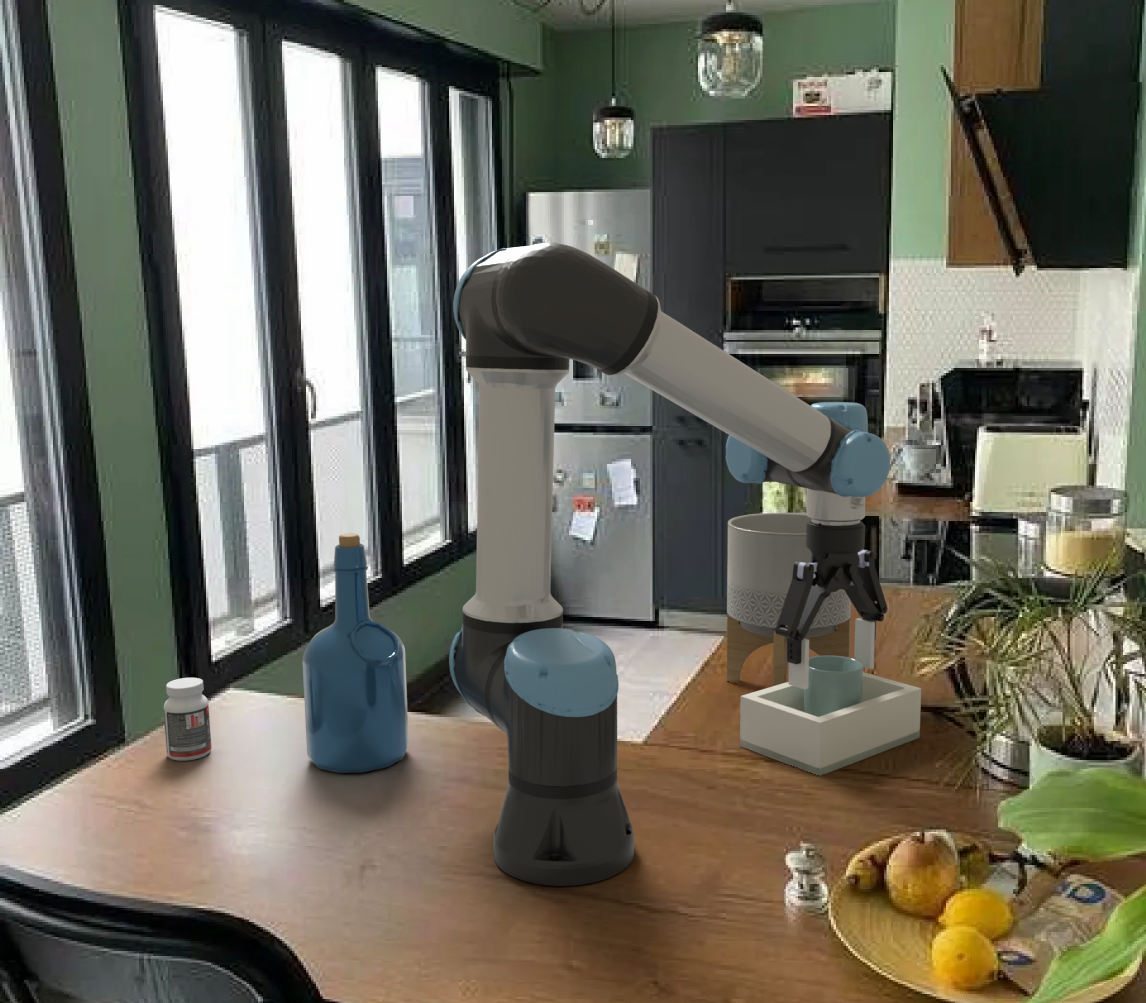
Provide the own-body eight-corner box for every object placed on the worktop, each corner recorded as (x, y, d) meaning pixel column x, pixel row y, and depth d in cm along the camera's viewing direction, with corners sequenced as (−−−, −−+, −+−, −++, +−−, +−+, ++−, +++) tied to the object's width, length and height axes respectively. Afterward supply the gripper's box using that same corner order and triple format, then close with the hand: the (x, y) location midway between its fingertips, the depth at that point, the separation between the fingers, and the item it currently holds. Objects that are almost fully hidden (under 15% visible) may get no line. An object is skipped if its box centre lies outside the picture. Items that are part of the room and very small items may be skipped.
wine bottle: (287, 759, 150) (275, 536, 145) (368, 732, 159) (360, 522, 155) (349, 786, 141) (338, 549, 136) (431, 756, 150) (424, 533, 146)
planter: (842, 710, 166) (846, 536, 162) (715, 698, 172) (716, 530, 168) (853, 673, 184) (858, 515, 180) (738, 663, 190) (740, 510, 186)
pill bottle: (219, 753, 152) (215, 682, 151) (180, 765, 148) (175, 692, 147) (198, 743, 156) (193, 673, 155) (159, 754, 152) (154, 683, 151)
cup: (862, 747, 149) (864, 673, 148) (802, 743, 151) (803, 670, 149) (860, 726, 157) (862, 656, 155) (802, 723, 158) (804, 653, 157)
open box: (818, 776, 142) (820, 722, 141) (740, 746, 153) (740, 696, 152) (919, 737, 155) (921, 688, 154) (840, 712, 165) (841, 665, 164)
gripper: (794, 535, 139) (791, 702, 142) (917, 513, 154) (911, 664, 157) (749, 527, 144) (747, 688, 148) (871, 506, 160) (867, 652, 163)
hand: (831, 676), depth 152 cm, fingers open, 13 cm apart
